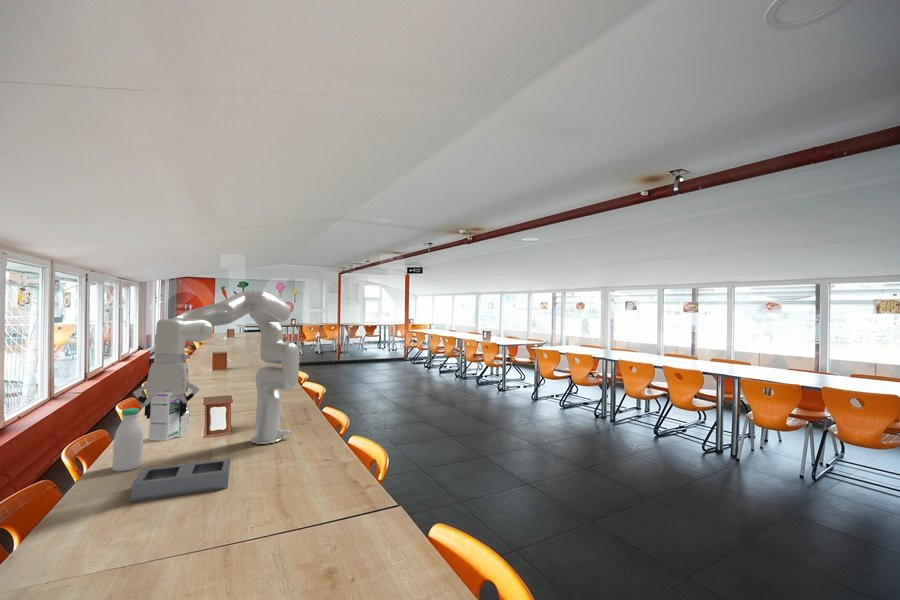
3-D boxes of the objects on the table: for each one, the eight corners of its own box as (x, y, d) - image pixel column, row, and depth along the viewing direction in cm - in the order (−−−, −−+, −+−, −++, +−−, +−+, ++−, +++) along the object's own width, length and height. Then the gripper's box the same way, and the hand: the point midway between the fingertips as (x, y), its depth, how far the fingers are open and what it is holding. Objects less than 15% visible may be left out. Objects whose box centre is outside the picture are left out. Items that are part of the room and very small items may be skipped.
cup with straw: (178, 432, 171) (181, 387, 171) (196, 433, 169) (199, 388, 170) (161, 438, 162) (164, 390, 163) (180, 439, 161) (183, 392, 162)
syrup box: (166, 440, 114) (169, 392, 115) (147, 440, 115) (150, 391, 115) (180, 435, 120) (183, 388, 121) (162, 434, 120) (165, 387, 121)
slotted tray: (230, 473, 130) (231, 458, 130) (227, 488, 119) (228, 471, 120) (141, 485, 119) (142, 468, 120) (130, 502, 109) (131, 484, 109)
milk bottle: (143, 467, 132) (146, 409, 133) (113, 474, 126) (117, 413, 127) (139, 461, 137) (142, 405, 138) (110, 467, 132) (114, 408, 132)
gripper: (204, 357, 126) (200, 411, 125) (137, 358, 118) (133, 416, 117) (201, 359, 119) (197, 417, 118) (130, 361, 111) (126, 422, 110)
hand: (165, 416), depth 118 cm, fingers closed on syrup box, 7 cm apart
